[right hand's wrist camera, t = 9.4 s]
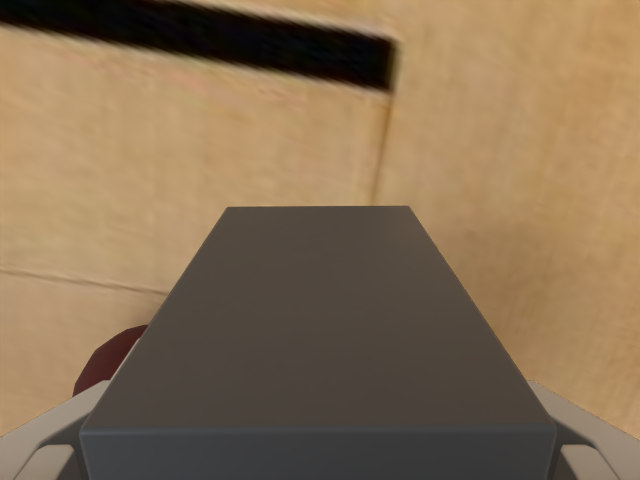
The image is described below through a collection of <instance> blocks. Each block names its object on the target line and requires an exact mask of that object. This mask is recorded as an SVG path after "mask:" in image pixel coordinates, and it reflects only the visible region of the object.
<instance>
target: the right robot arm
mask: <svg viewBox="0 0 640 480" xmlns="http://www.w3.org/2000/svg"><path fill="white" fill-rule="evenodd" d="M139 339H140V338H139ZM139 339H138V340H139ZM138 340H137V341H136V343H137V342H138ZM136 343H135V344H134V346H135V345H136ZM134 346H133V347H132V349H133V348H134ZM132 349H131V350H130V352H131V351H132ZM130 352H129V353H128V354H127V356H126V357H125V359H124V360H123V362H122V363H121V365H120V366H119V368H118V369H117V371H116V372H115V374H114V375H113V377H112V378H111V380H103V381H101V382H99V383H98V384H96V385H94V386H92V387H90V388H89V389H87V390H85V391H83V392H81V393H80V394H78V395H76V396H74V397H72V398H70V399H69V400H67V401H65V402H63V403H61V404H60V405H58V406H56V407H54V408H52V409H51V410H49V411H47V412H45V413H43V414H42V415H40V416H38V417H36V418H34V419H32V420H31V421H29V422H27V423H25V424H23V425H22V426H20V427H18V428H16V429H14V430H13V431H11V432H9V433H7V434H5V435H4V436H2V437H0V480H89V476H88V472H87V468H86V464H85V460H84V456H83V452H82V448H81V444H80V439H79V431H80V428H81V426H82V425H83V423H84V422H85V420H86V419H87V417H88V416H89V414H90V413H91V411H92V410H93V408H94V407H95V405H96V404H97V402H98V401H99V399H100V398H101V396H102V395H103V393H104V392H105V390H106V389H107V387H108V386H109V384H110V383H111V381H112V380H113V378H114V376H115V375H116V373H117V372H118V370H119V369H120V367H121V366H122V364H123V363H124V361H125V360H126V358H127V357H128V355H129V354H130ZM526 381H527V383H528V384H529V386H530V387H531V389H532V390H533V392H534V393H535V395H536V396H537V398H538V399H539V401H540V402H541V404H542V405H543V407H544V408H545V410H546V411H547V413H548V414H549V415H550V417H551V418H552V420H553V421H554V423H555V425H556V428H557V436H556V440H555V445H554V449H553V453H552V458H551V462H550V466H549V471H548V475H547V479H546V480H640V441H639V440H638V439H636V438H634V437H632V436H630V435H629V434H627V433H625V432H623V431H621V430H620V429H618V428H616V427H614V426H613V425H611V424H609V423H607V422H605V421H604V420H602V419H600V418H598V417H596V416H595V415H593V414H591V413H589V412H588V411H586V410H584V409H582V408H580V407H579V406H577V405H575V404H573V403H571V402H570V401H568V400H566V399H564V398H563V397H561V396H559V395H557V394H555V393H554V392H552V391H550V390H548V389H546V388H545V387H543V386H541V385H539V384H538V383H536V382H534V381H532V380H526Z"/></svg>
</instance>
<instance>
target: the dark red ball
mask: <svg viewBox="0 0 640 480" xmlns="http://www.w3.org/2000/svg"><path fill="white" fill-rule="evenodd" d="M147 327H148V325H142V326H139V327H135V328H131V329H127V330H125V331H123V332H121V333H120V334H118V335H116V336H115V337H113V338H112V339H110V340H109V341H108V342H106V343H105V344H103V345H102V346H101V347H99V348H98V349H96V350H95V352H94V353H93V355H92V356H91V358H90V359H89V361H88V363H87V364H86V366H85V368H84V370H83V371H82V373H81V375H80V376H79V378H78V380H77V382H76V383H75V387H74V392H73V397H74V396H76V395H78V394H80V393H81V392H83V391H85V390H87V389H89V388H90V387H92V386H94V385H96V384H98V383H99V382H101V381H103V380H111V378H112V377H113V375H114V374H115V372H116V371H117V369H118V368H119V366H120V365H121V363H122V362H123V360H124V359H125V357H126V356H127V354H128V353H129V352H130V350H131V349H132V347H133V346H134V344H135V343H136V341H137V340H138V339H139V338H140V337H141V336H142V334H143V333H144V331H145V330H146V328H147Z"/></svg>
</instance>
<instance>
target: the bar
mask: <svg viewBox="0 0 640 480" xmlns="http://www.w3.org/2000/svg"><path fill="white" fill-rule="evenodd" d="M556 436H557V428H556V425H555V423H554V421H553V420H552V418H551V417H550V415H549V414H548V413H547V411H546V410H545V408H544V407H543V405H542V404H541V402H540V401H539V399H538V398H537V396H536V395H535V393H534V392H533V390H532V389H531V387H530V386H529V384H528V383H527V381H526V380H525V378H524V377H523V375H522V374H521V372H520V371H519V369H518V368H517V366H516V365H515V363H514V362H513V360H512V359H511V357H510V356H509V354H508V353H507V351H506V350H505V348H504V347H503V346H502V344H501V343H500V341H499V340H498V338H497V337H496V335H495V334H494V332H493V331H492V329H491V328H490V326H489V325H488V323H487V322H486V320H485V319H484V317H483V316H482V314H481V313H480V311H479V310H478V308H477V307H476V305H475V304H474V302H473V301H472V299H471V298H470V296H469V295H468V293H467V292H466V290H465V289H464V287H463V286H462V284H461V283H460V281H459V280H458V278H457V277H456V276H455V274H454V273H453V271H452V270H451V268H450V267H449V265H448V264H447V262H446V261H445V259H444V258H443V256H442V255H441V253H440V252H439V250H438V249H437V247H436V246H435V244H434V243H433V241H432V240H431V238H430V237H429V235H428V234H427V232H426V231H425V229H424V228H423V226H422V225H421V223H420V222H419V220H418V219H417V217H416V216H415V214H414V213H413V211H412V210H411V208H410V207H409V206H297V207H227V208H226V210H225V211H224V213H223V214H222V216H221V217H220V219H219V220H218V222H217V223H216V225H215V226H214V228H213V229H212V231H211V232H210V234H209V235H208V237H207V238H206V240H205V241H204V243H203V244H202V246H201V247H200V249H199V250H198V252H197V253H196V255H195V256H194V258H193V259H192V261H191V262H190V264H189V265H188V267H187V268H186V270H185V271H184V273H183V274H182V276H181V277H180V279H179V280H178V282H177V283H176V285H175V286H174V288H173V289H172V291H171V292H170V294H169V295H168V297H167V298H166V300H165V301H164V303H163V304H162V306H161V307H160V309H159V310H158V312H157V313H156V315H155V316H154V318H153V319H152V321H151V322H150V324H149V325H148V327H147V328H146V330H145V331H144V333H143V334H142V336H141V337H140V339H139V340H138V342H137V343H136V345H135V346H134V348H133V349H132V351H131V352H130V354H129V355H128V357H127V358H126V360H125V361H124V363H123V364H122V366H121V367H120V369H119V370H118V372H117V373H116V375H115V376H114V378H113V380H112V381H111V383H110V384H109V386H108V387H107V389H106V390H105V392H104V393H103V395H102V396H101V398H100V399H99V401H98V402H97V404H96V405H95V407H94V408H93V410H92V411H91V413H90V414H89V416H88V417H87V419H86V420H85V422H84V423H83V425H82V426H81V428H80V431H79V439H80V444H81V448H82V452H83V456H84V460H85V464H86V468H87V472H88V476H89V480H546V479H547V475H548V471H549V466H550V462H551V458H552V453H553V449H554V445H555V440H556Z"/></svg>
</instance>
